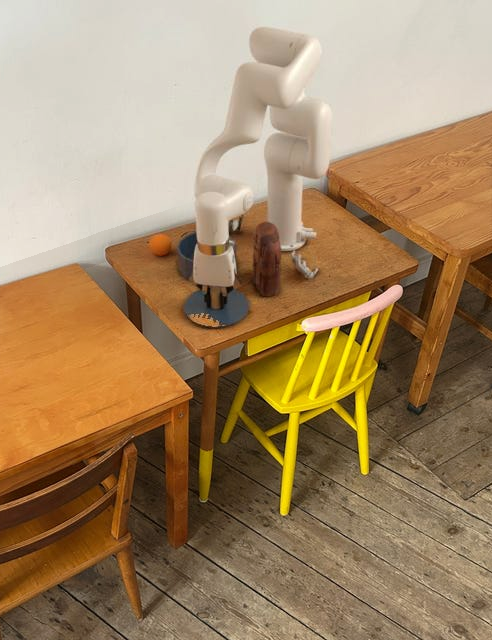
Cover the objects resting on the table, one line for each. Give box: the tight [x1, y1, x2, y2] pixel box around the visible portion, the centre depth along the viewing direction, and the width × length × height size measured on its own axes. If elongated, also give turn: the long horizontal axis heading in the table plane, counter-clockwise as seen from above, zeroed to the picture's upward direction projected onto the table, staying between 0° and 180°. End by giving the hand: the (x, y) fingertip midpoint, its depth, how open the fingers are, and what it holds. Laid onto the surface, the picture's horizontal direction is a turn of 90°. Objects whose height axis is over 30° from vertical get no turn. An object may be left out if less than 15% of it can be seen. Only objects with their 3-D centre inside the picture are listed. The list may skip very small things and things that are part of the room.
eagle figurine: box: [228, 213, 245, 234], centre depth 213 cm, size 8×7×9 cm
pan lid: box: [183, 286, 250, 329], centre depth 186 cm, size 16×16×6 cm
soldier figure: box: [289, 249, 319, 282], centre depth 198 cm, size 8×5×12 cm
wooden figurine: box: [252, 221, 282, 297], centre depth 189 cm, size 12×6×18 cm, turn 16°
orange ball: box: [149, 233, 172, 257], centre depth 204 cm, size 6×6×6 cm
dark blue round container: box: [176, 230, 238, 280], centre depth 200 cm, size 16×16×6 cm
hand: (216, 304), depth 187 cm, fingers open, 3 cm apart
